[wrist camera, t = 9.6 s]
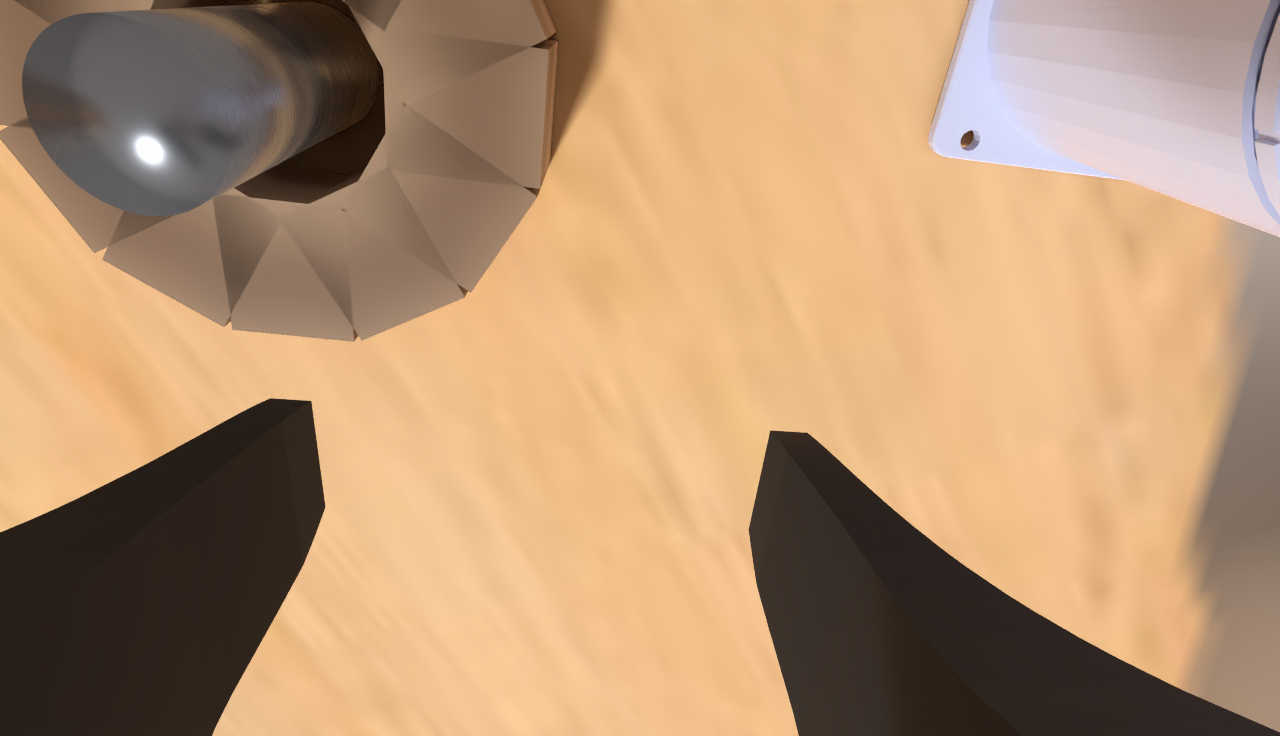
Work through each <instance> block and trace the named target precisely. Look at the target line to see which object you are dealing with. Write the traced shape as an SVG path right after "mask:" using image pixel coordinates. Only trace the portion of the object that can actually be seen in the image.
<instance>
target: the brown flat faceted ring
mask: <svg viewBox="0 0 1280 736" xmlns="http://www.w3.org/2000/svg"><path fill="white" fill-rule="evenodd" d="M223 1H224V0H0V125H7V126H9V127H7V128H5V129H3V130H1V131H0V139H1V141H2V142H3V143H4V144H5V145H6V147H7V148H8V149H9V150H10V151H11V153H12V154H13V155H14V156H15V157H16V159H17V160H18V161H19V162H20V164H21V165H22V166H23V167H24V168H25V170H26V171H27V172H28V173H29V174H30V176H31V177H32V178H33V179H34V180H35V182H36V183H37V184H38V185H39V187H40V188H41V189H42V190H43V191H44V193H45V194H46V195H47V196H48V197H49V199H50V200H51V201H52V202H53V204H54V205H55V206H56V207H57V208H58V210H59V211H60V212H61V213H62V214H63V216H64V217H65V218H66V219H67V220H68V222H69V223H70V224H71V225H72V227H73V228H74V229H75V230H76V231H77V233H78V234H79V235H80V236H81V237H82V239H83V240H84V241H85V242H86V243H87V245H88V246H89V247H90V248H91V250H92V251H93V252H94V253H96V252H98V251H100V250H102V249H104V248H106V247H108V248H107V250H106V252H105V255H104V257H103V259H102V260H104V261H106V262H108V263H109V264H111V265H113V266H115V267H117V268H118V269H120V270H122V271H124V272H126V273H127V274H129V275H131V276H133V277H135V278H136V279H138V280H140V281H142V282H144V283H145V284H147V285H149V286H151V287H153V288H154V289H156V290H158V291H160V292H162V293H163V294H165V295H167V296H169V297H171V298H173V299H174V300H176V301H178V302H180V303H182V304H183V305H185V306H187V307H189V308H191V309H192V310H194V311H196V312H198V313H200V314H201V315H203V316H205V317H207V318H209V319H210V320H212V321H214V322H216V323H218V324H219V325H221V326H223V327H225V326H226V325H227V324H228V323H229V322H230V321H231V323H232V329H233V330H240V331H250V332H261V333H271V334H281V335H292V336H302V337H312V338H322V339H333V340H343V341H353V342H354V341H355V339H356V338H357V337H358V336H359V337H360V339H361V340H364V339H367V338H369V337H371V336H374V335H376V334H378V333H381V332H383V331H386V330H388V329H390V328H393V327H395V326H398V325H400V324H402V323H405V322H407V321H409V320H412V319H414V318H417V317H419V316H421V315H424V314H426V313H429V312H431V311H433V310H436V309H438V308H440V307H443V306H445V305H448V304H450V303H452V302H455V301H457V300H460V299H462V298H464V297H465V296H466V294H467V292H468V291H469V292H472V290H473V289H474V287H475V286H476V284H477V283H478V281H479V280H480V279H481V277H482V276H483V274H484V273H485V271H486V270H487V269H488V267H489V266H490V264H491V263H492V261H493V260H494V258H495V257H496V256H497V254H498V253H499V251H500V250H501V248H502V247H503V245H504V244H505V243H506V241H507V240H508V238H509V237H510V235H511V234H512V233H513V231H514V230H515V228H516V227H517V225H518V224H519V222H520V221H521V220H522V218H523V217H524V215H525V214H526V212H527V211H528V210H529V208H530V207H531V205H532V204H533V202H534V201H535V199H536V198H537V196H538V193H539V191H540V188H541V185H542V183H543V180H544V177H545V174H546V172H547V168H548V166H549V163H550V155H551V141H552V126H553V111H554V96H555V81H556V67H557V52H558V41H556V40H549V39H548V38H549V37H550V36H552V35H553V34H554V33H556V32H557V31H556V29H555V27H554V24H553V22H552V20H551V17H550V15H549V13H548V10H547V8H546V6H545V3H544V1H543V0H342V1H343V2H345V3H346V4H347V5H348V6H349V8H350V9H351V11H352V13H353V15H354V17H355V19H356V20H357V22H358V24H359V26H360V28H361V30H362V31H363V33H364V35H365V37H366V39H367V40H368V42H369V44H370V46H371V48H372V50H373V51H374V53H375V55H376V57H377V59H378V61H379V62H380V64H381V66H382V68H383V74H384V101H385V128H386V134H385V135H384V137H383V139H382V141H381V142H380V144H379V146H378V148H377V149H376V151H375V153H374V155H373V156H372V158H371V160H370V161H369V163H368V165H367V167H366V168H364V169H362V170H360V171H357V172H355V173H353V174H351V175H349V174H340V173H332V172H323V171H315V170H306V169H299V168H298V167H296V166H294V165H293V164H291V163H290V162H288V161H287V160H285V161H283V162H281V163H279V164H278V165H276V166H274V167H272V168H270V169H268V170H266V171H264V172H262V173H261V174H259V175H257V176H255V177H253V178H251V179H249V180H247V181H246V182H244V183H242V184H240V185H238V186H236V187H234V188H232V189H230V190H229V191H227V192H225V193H223V194H221V195H219V196H217V197H215V198H213V199H212V200H210V201H208V202H206V203H204V204H202V205H200V206H198V207H196V208H194V209H192V210H190V211H187V212H184V213H181V214H177V215H170V216H147V215H140V214H136V213H131V212H128V211H125V210H122V209H118V208H116V207H114V206H111V205H109V204H107V203H105V202H103V201H101V200H99V199H97V198H96V197H94V196H92V195H91V194H89V193H88V192H86V191H85V190H83V189H82V188H81V187H79V186H78V185H77V184H76V183H75V182H73V181H72V180H71V179H70V178H69V177H68V176H67V175H66V174H65V173H64V172H63V171H62V170H61V169H60V168H59V167H58V166H57V165H56V164H55V163H54V161H53V160H52V159H51V158H50V157H49V155H48V154H47V152H46V151H45V149H44V148H43V146H42V145H41V143H40V142H39V140H38V138H37V136H36V134H35V132H34V131H33V128H32V126H31V123H30V121H29V118H28V116H27V112H26V109H25V105H24V100H23V93H22V73H23V66H24V62H25V59H26V56H27V53H28V51H29V49H30V47H31V45H32V43H33V42H34V41H35V39H36V38H37V37H38V36H39V34H40V33H41V32H42V31H44V30H45V29H46V28H47V27H48V26H49V25H51V24H53V23H55V22H56V21H58V20H60V19H63V18H66V17H68V16H71V15H76V14H82V13H94V12H113V11H133V10H152V9H171V8H190V7H210V6H221V5H222V3H223Z"/></svg>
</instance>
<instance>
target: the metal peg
mask: <svg viewBox="0 0 1280 736" xmlns="http://www.w3.org/2000/svg"><path fill="white" fill-rule="evenodd" d="M378 88H379V69H378V64H377V60H376V57H375V54H374V51H373V50H372V48H371V46H370V44H369V42H368V40H367V39H366V37H365V35H364V34H363V32H362V31H361V30H360V28H359V27H358V26H357V25H356V24H355V23H354V22H353V21H352V20H350V19H349V18H348V17H347V16H345V15H344V14H343V13H341V12H339V11H338V10H336V9H334V8H332V7H329V6H327V5H324V4H320V3H315V2H287V3H268V4H248V5H229V6H210V7H190V8H171V9H152V10H133V11H113V12H94V13H82V14H76V15H71V16H68V17H66V18H63V19H60V20H58V21H56V22H55V23H53V24H51V25H49V26H48V27H47V28H46V29H45V30H44V31H42V32H41V33H40V34H39V36H38V37H37V38H36V39H35V41H34V42H33V43H32V45H31V47H30V49H29V51H28V53H27V56H26V59H25V62H24V66H23V73H22V93H23V100H24V105H25V109H26V112H27V116H28V118H29V121H30V123H31V126H32V128H33V131H34V132H35V134H36V136H37V138H38V140H39V142H40V143H41V145H42V146H43V148H44V149H45V151H46V152H47V154H48V155H49V157H50V158H51V159H52V160H53V161H54V163H55V164H56V165H57V166H58V167H59V168H60V169H61V170H62V171H63V172H64V173H65V174H66V175H67V176H68V177H69V178H70V179H71V180H72V181H73V182H75V183H76V184H77V185H78V186H79V187H81V188H82V189H83V190H85V191H86V192H88V193H89V194H91V195H92V196H94V197H96V198H97V199H99V200H101V201H103V202H105V203H107V204H109V205H111V206H114V207H116V208H118V209H122V210H125V211H128V212H131V213H136V214H140V215H147V216H170V215H177V214H181V213H184V212H187V211H190V210H192V209H194V208H196V207H198V206H200V205H202V204H204V203H206V202H208V201H210V200H212V199H213V198H215V197H217V196H219V195H221V194H223V193H225V192H227V191H229V190H230V189H232V188H234V187H236V186H238V185H240V184H242V183H244V182H246V181H247V180H249V179H251V178H253V177H255V176H257V175H259V174H261V173H262V172H264V171H266V170H268V169H270V168H272V167H274V166H276V165H278V164H279V163H281V162H283V161H285V160H287V159H289V158H291V157H293V156H295V155H296V154H298V153H300V152H302V151H304V150H306V149H308V148H310V147H311V146H313V145H315V144H317V143H319V142H321V141H323V140H325V139H327V138H328V137H330V136H332V135H334V134H336V133H338V132H340V131H342V130H344V129H345V128H347V127H349V126H351V125H353V124H355V123H357V122H358V121H359V120H361V119H362V118H363V117H364V116H365V115H366V114H367V113H368V112H369V110H370V109H371V107H372V106H373V104H374V102H375V99H376V96H377V93H378Z"/></svg>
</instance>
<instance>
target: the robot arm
mask: <svg viewBox="0 0 1280 736" xmlns="http://www.w3.org/2000/svg"><path fill="white" fill-rule="evenodd" d="M971 130H972V131H973V133H974V137H973V140H972V142H971V144H970V145H968V146H967V147H964V148H962V147H961V145H960V142H961V138H962V136H963V135H964V134H965V133H966V132H968V131H971ZM928 142H929V145H930V148H931V149H932V150H933V151H934V152H935V153H937V154H939V155H941V156H944V157H949V158H957V159H964V160H972V161H980V162H988V163H995V164H1003V165H1011V166H1019V167H1027V168H1034V169H1042V170H1050V171H1058V172H1065V173H1073V174H1081V175H1089V176H1096V177H1104V178H1112V179H1120V180H1127V181H1130V182H1133V183H1135V184H1138V185H1141V186H1143V187H1146V188H1149V189H1151V190H1154V191H1157V192H1159V193H1162V194H1165V195H1168V196H1170V197H1173V198H1176V199H1178V200H1181V201H1184V202H1186V203H1189V204H1192V205H1194V206H1197V207H1200V208H1203V209H1205V210H1208V211H1211V212H1213V213H1216V214H1219V215H1221V216H1224V217H1227V218H1230V219H1232V220H1235V221H1238V222H1240V223H1243V224H1246V225H1248V226H1251V227H1254V228H1256V229H1259V230H1262V231H1265V232H1267V233H1270V234H1273V235H1275V236H1278V237H1280V0H970V1H969V4H968V8H967V11H966V14H965V17H964V21H963V24H962V27H961V31H960V34H959V37H958V40H957V44H956V47H955V50H954V54H953V57H952V60H951V63H950V67H949V70H948V73H947V76H946V80H945V83H944V86H943V90H942V93H941V96H940V99H939V103H938V106H937V109H936V112H935V116H934V119H933V122H932V126H931V129H930V132H929V138H928ZM324 509H325V501H324V494H323V486H322V478H321V471H320V463H319V456H318V448H317V441H316V433H315V426H314V418H313V411H312V403H311V401H301V400H286V399H268V400H266V401H264V402H261V403H259V404H257V405H255V406H253V407H251V408H249V409H247V410H245V411H243V412H241V413H239V414H238V415H236V416H234V417H232V418H230V419H228V420H227V421H225V422H223V423H221V424H219V425H217V426H216V427H214V428H212V429H210V430H208V431H207V432H205V433H203V434H201V435H199V436H197V437H196V438H194V439H192V440H190V441H188V442H186V443H185V444H183V445H181V446H179V447H177V448H175V449H174V450H172V451H170V452H168V453H166V454H164V455H163V456H161V457H159V458H157V459H155V460H153V461H152V462H150V463H148V464H146V465H144V466H142V467H140V468H138V469H136V470H134V471H132V472H130V473H128V474H126V475H124V476H122V477H120V478H118V479H116V480H114V481H112V482H110V483H108V484H106V485H104V486H102V487H100V488H98V489H96V490H94V491H92V492H90V493H88V494H86V495H84V496H82V497H80V498H78V499H76V500H74V501H72V502H69V503H67V504H65V505H63V506H61V507H59V508H57V509H54V510H52V511H50V512H48V513H45V514H43V515H41V516H38V517H36V518H34V519H32V520H29V521H27V522H25V523H22V524H20V525H17V526H15V527H13V528H10V529H8V530H5V531H3V532H0V736H212V734H213V732H214V729H215V727H216V725H217V723H218V721H219V719H220V717H221V715H222V713H223V711H224V709H225V707H226V705H227V703H228V701H229V699H230V697H231V695H232V693H233V691H234V689H235V688H236V686H237V684H238V682H239V680H240V679H241V677H242V675H243V673H244V671H245V670H246V668H247V666H248V664H249V663H250V661H251V659H252V657H253V655H254V654H255V652H256V650H257V648H258V646H259V645H260V643H261V641H262V639H263V637H264V636H265V634H266V632H267V630H268V628H269V627H270V625H271V623H272V621H273V619H274V618H275V616H276V614H277V612H278V610H279V609H280V607H281V605H282V603H283V601H284V600H285V598H286V596H287V594H288V592H289V590H290V589H291V587H292V585H293V583H294V581H295V579H296V578H297V576H298V574H299V572H300V570H301V568H302V566H303V564H304V562H305V559H306V557H307V554H308V552H309V549H310V547H311V544H312V542H313V539H314V537H315V534H316V531H317V529H318V526H319V523H320V520H321V518H322V515H323V512H324ZM749 534H750V542H751V549H752V557H753V563H754V570H755V576H756V582H757V587H758V591H759V594H760V598H761V602H762V605H763V609H764V612H765V616H766V620H767V623H768V627H769V630H770V634H771V637H772V640H773V644H774V647H775V651H776V654H777V658H778V661H779V665H780V668H781V672H782V675H783V678H784V682H785V685H786V689H787V692H788V696H789V699H790V703H791V706H792V710H793V713H794V717H795V722H796V726H797V730H798V734H799V736H1280V732H1277V731H1275V730H1273V729H1270V728H1268V727H1266V726H1264V725H1261V724H1259V723H1257V722H1254V721H1252V720H1250V719H1247V718H1245V717H1243V716H1241V715H1238V714H1236V713H1234V712H1231V711H1229V710H1227V709H1224V708H1222V707H1220V706H1217V705H1215V704H1213V703H1210V702H1208V701H1206V700H1204V699H1201V698H1199V697H1197V696H1194V695H1192V694H1190V693H1187V692H1185V691H1183V690H1181V689H1179V688H1177V687H1175V686H1173V685H1170V684H1168V683H1166V682H1164V681H1162V680H1160V679H1158V678H1156V677H1154V676H1152V675H1150V674H1148V673H1146V672H1144V671H1142V670H1140V669H1138V668H1136V667H1134V666H1132V665H1130V664H1128V663H1126V662H1124V661H1122V660H1120V659H1118V658H1116V657H1114V656H1112V655H1111V654H1109V653H1107V652H1105V651H1103V650H1101V649H1099V648H1097V647H1096V646H1094V645H1092V644H1090V643H1088V642H1086V641H1084V640H1083V639H1081V638H1079V637H1077V636H1075V635H1074V634H1072V633H1070V632H1069V631H1067V630H1065V629H1063V628H1062V627H1060V626H1058V625H1057V624H1055V623H1053V622H1051V621H1050V620H1048V619H1046V618H1044V617H1043V616H1041V615H1039V614H1038V613H1036V612H1034V611H1032V610H1031V609H1029V608H1028V607H1026V606H1024V605H1023V604H1021V603H1020V602H1018V601H1016V600H1015V599H1013V598H1012V597H1010V596H1008V595H1007V594H1005V593H1004V592H1002V591H1001V590H999V589H998V588H996V587H995V586H994V585H992V584H991V583H989V582H988V581H986V580H985V579H983V578H982V577H980V576H979V575H977V574H976V573H974V572H973V571H972V570H970V569H969V568H967V567H966V566H964V565H963V564H961V563H960V562H959V561H957V560H956V559H955V558H953V557H952V556H951V555H949V554H948V553H947V552H945V551H944V550H943V549H941V548H940V547H939V546H938V545H936V544H935V543H934V542H932V541H931V540H930V539H929V538H927V537H926V536H925V535H924V534H922V533H921V532H920V531H919V530H917V529H916V528H915V527H913V526H912V525H911V524H910V523H909V522H907V521H906V520H905V519H904V518H903V517H901V516H900V515H899V514H898V513H897V512H896V511H894V510H893V509H892V508H891V507H890V506H889V505H887V504H886V503H885V502H884V501H883V500H882V499H881V498H879V497H878V496H877V495H876V494H875V493H874V492H873V491H872V490H870V489H869V488H868V487H867V486H866V485H865V484H864V483H863V482H862V481H861V480H859V479H858V478H857V477H856V476H855V475H854V474H853V473H852V472H851V471H850V470H849V469H847V468H846V467H845V466H844V465H843V464H842V463H841V462H840V461H839V460H838V459H837V458H836V457H834V456H833V455H832V454H831V453H830V452H829V451H828V450H827V449H826V448H825V447H823V446H822V445H821V444H820V443H819V442H818V441H817V440H815V439H814V438H813V437H812V436H811V435H809V434H808V433H800V432H784V431H770V435H769V439H768V444H767V449H766V453H765V458H764V462H763V467H762V471H761V476H760V481H759V485H758V490H757V494H756V499H755V504H754V508H753V513H752V517H751V522H750V526H749Z"/></svg>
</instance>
